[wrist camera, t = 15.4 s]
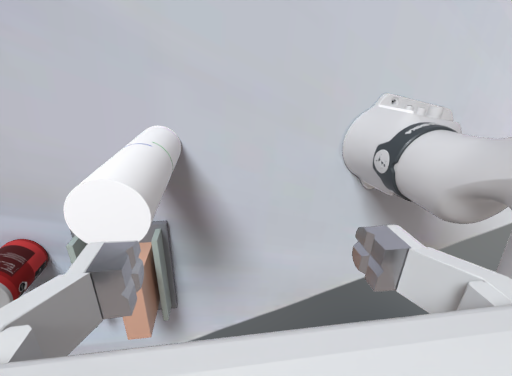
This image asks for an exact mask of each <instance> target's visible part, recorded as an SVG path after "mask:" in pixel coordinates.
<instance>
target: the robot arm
mask: <svg viewBox="0 0 512 376" xmlns="http://www.w3.org/2000/svg"><path fill="white" fill-rule="evenodd" d="M392 100H394V102H393V103H392ZM343 158H344V162H345V164H346V166H347V167H348V169H349V170H350V171H351V172H352V173H353V174H355V175H356V176H358V177H359V178H360V181H361V183H362V185H363V186H364V187H365V188H367V189H374V188H376V189H378V190H380V191H382V192H384V193H386V194H388V195H393V194H395V195H397V196H399V197H401V198H403V199H405V200H408V201H412V202H414V203H416V204H418V205H419V206H421V207H422V208H424V209H425V210H427V211H428V212H430V213H432V214H433V215H435V216H436V217H438V218H439V219H442V220H444V221H448V222H452V223H459V224H469V223H476V222H480V221H482V220H485V219H488V218H490V217H492V216H494V215H496V214H498V213H499V212H501V211H503V210H504V209H506V208H507V207H509V208H510V209H511V210H512V137H509V138H500V139H493V138H484V137H477V136H471V135H466V134H462V130H461V126H460V124H459V123H457V122H453V114H452V111H451V110H450V109H448V108H444V107H441V106H437V105H433V104H429V103H425V102H421V101H417V100H414V99H410V98H406V97H402V96H398V95H394V94H390V93H385V94H383V95H382V96H381V97H380V98H379V99H378V101H377V102H376V103H375V105H374V106H373V107H372V108H370V109H369V110H367V111H366V112H364V113H363V114H361V115H360V116H359V117H358V118H357V119H356V120H355V121H354V122H353V123H352V125H351V126H350V128H349V129H348V131H347V133H346V136H345V138H344V142H343ZM355 237H356V239H357V240H358V242H357V243H356V244H355V245H354V246H353V251H352V256H353V261H354V264H355V266H356V267H357V269H358V270H359V271H361V272H363V273H364V274H365V280H366V281H367V282H368V284H369V285H370V286H371V288H372V289H373V290H374V292H377V291H391V290H396V291H397V292H398V293H400V294H401V295H403V296H404V297H406V298H407V299H409V300H410V301H412V302H413V303H415V304H416V305H418V306H419V307H421V308H422V309H424V310H425V311H427V312H428V313H430V314H425V315H417V316H408V317H400V318H391V319H381V320H373V321H364V322H355V323H347V324H337V325H329V326H320V327H312V328H303V329H296V330H286V331H278V332H269V333H260V334H252V335H244V336H236V337H227V338H218V339H210V340H200V341H192V342H183V343H174V344H166V345H157V346H149V347H140V348H131V349H123V350H114V351H105V352H97V353H88V354H79V355H71V356H67V355H68V354H70V353H71V352H72V351H73V350H74V349H75V348H76V347H77V346H78V345H79V344H80V343H81V342H82V341H83V340H84V339H85V338H86V337H87V336H88V335H89V334H90V333H91V332H92V331H93V330H94V329H95V328H96V327H97V326H98V325H99V324H100V323H101V322H102V321H103V319H109V318H117V317H125V316H132V313H133V310H134V307H135V305H136V302H137V294H136V292H138V291H139V290H140V289H141V287H142V284H143V278H144V266H143V261H142V260H141V259H140V258H139V254H140V252H141V249H140V244H139V242H138V241H137V240H134V241H109V242H91V243H89V244H87V245H86V247H85V248H84V249H83V251H82V252H81V253H80V255H79V256H78V257H77V259H76V260H75V261H74V263H73V264H72V265H71V267H70V268H69V269H68V271H67V272H66V273H65V274H64V275H58V276H56V277H55V278H53V279H51V280H49V281H48V282H46V283H44V284H42V285H41V286H39V287H37V288H35V289H33V290H32V291H30V292H28V293H26V294H25V295H23V296H21V297H19V298H18V299H16V300H14V301H12V302H10V303H9V304H7V305H5V306H3V307H2V308H0V376H512V232H511V234H510V237H509V239H508V242H507V245H506V247H505V250H504V252H503V255H502V258H501V260H500V263H499V265H498V268H497V271H496V272H494V271H491V270H488V269H486V268H483V267H480V266H478V265H475V264H473V263H470V262H468V261H465V260H462V259H460V258H457V257H454V256H452V255H449V254H446V253H444V252H441V251H439V250H436V249H433V248H431V247H425V246H424V245H422V244H421V243H420V242H419V241H418V240H416V239H415V238H414V237H413V236H411V235H410V234H409V233H408V232H406V231H405V230H404V229H403V228H401V227H400V226H399V225H396V224H392V225H383V226H371V227H359V228H358V230H357V231H356V236H355Z"/></svg>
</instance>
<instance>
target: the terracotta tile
mask: <svg viewBox="0 0 512 376" xmlns="http://www.w3.org/2000/svg"><path fill="white" fill-rule="evenodd" d="M139 244H140V249H141V252H140V254H139V258H140V259H141V260H142V261H143V266H144V278H143V284H142V287H141V289H140V290H139V291H138V292H136V294H137V302H136V305H135V307H134V310H133V313H132V316H125V317H123V320H124V324H125V329H126V333H127V337H128V340H130V339H139V338H148V337H151V336H152V332H153V327H154V323H155V319H156V315H157V310H158V306H159V302H160V294H159V288H158V281H157V275H156V269H155V262H154V256H153V250H152V243H151V242H145V243H139Z"/></svg>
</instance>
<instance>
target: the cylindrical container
mask: <svg viewBox="0 0 512 376" xmlns="http://www.w3.org/2000/svg"><path fill="white" fill-rule="evenodd" d="M180 153H181V142H180V139H179V137H178V136H177V135H176V133H175V132H174V131H172V130H171V129H169V128H167V127H164V126H152V127H149V128H147V129H146V130H145V131H143V132H142V133H141V134H140V135H138V136H137V137H136V138H135V139H134V140H132V141H131V142H130V143H129V144H128V145H126V146H125V147H124V148H123V149H121V150H120V151H119V152H118V153H117V154H115V155H114V156H113V157H112V158H110V159H109V160H108V161H107V162H106V163H104V164H103V165H102V166H101V167H99V168H98V169H97V170H96V171H95V172H93V173H92V174H91V175H90V176H89V177H87V178H86V179H85V180H84V181H83V182H81V183H80V184H79V185H78V186H76V187H75V188H74V189H73V190H72V191H71V192H70V193H69V195H68V196H67V198H66V201H65V204H64V217H65V220H66V222H67V225H68V226H69V228H70V229H71V231H72V232H73V233H74V234H75V235H76V236H77V237H78V238H80V239H81V240H82V241H84V242H85V243H88V244H89V243H91V242H109V241H134V240H137V241H138V242H139V241H140V240H142V239H143V238H144V236H145V235H146V234H147V232H148V230H149V228H150V225H151V223H152V221H153V218H154V216H155V213H156V211H157V209H158V206H159V204H160V201H161V199H162V197H163V194H164V192H165V189H166V187H167V185H168V182H169V180H170V177H171V175H172V173H173V170H174V168H175V165H176V163H177V161H178V158H179V156H180Z"/></svg>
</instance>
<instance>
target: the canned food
mask: <svg viewBox="0 0 512 376" xmlns="http://www.w3.org/2000/svg"><path fill="white" fill-rule="evenodd" d="M47 261H48V255H47V253H46V251H45V249H44V248H43V247H42V246H40V245H39V244H38V243H36V242H34V241H31V240H27V239H17V240H13V241H11V242H8V243H6V244H5V245H4V246H2V247H1V248H0V308H2V307H3V306H5V305H7V304H9V303H10V302H12V301H14V300H16V299H18V298H19V297H20V296H21V295H22V294H23V293H24V292H25V290H26V289H27V288H28V287H29V286H30V285H31V283H32V282H33V281H34V280H35V279H36V278H37V276H38V275H39V274H40V273H41V272H42V271H43V269H44V268H45V267H46V265H47Z"/></svg>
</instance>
